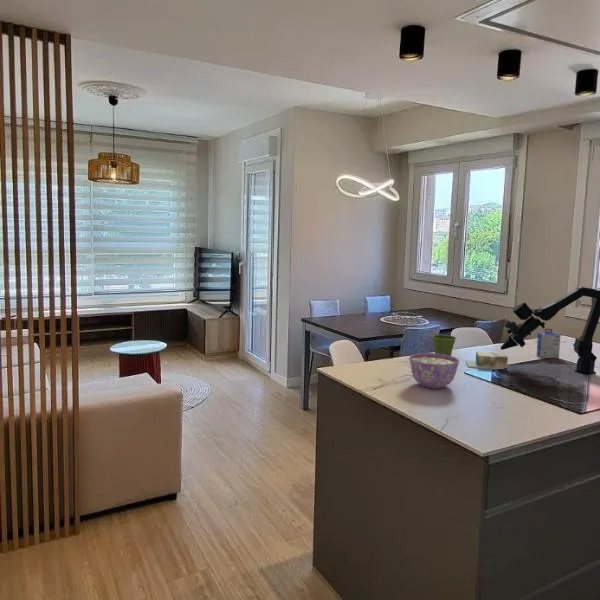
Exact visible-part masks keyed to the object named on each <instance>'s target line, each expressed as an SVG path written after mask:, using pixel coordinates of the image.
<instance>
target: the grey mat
mask: <svg viewBox="0 0 600 600" xmlns="http://www.w3.org/2000/svg"><path fill="white" fill-rule="evenodd" d="M465 363H466V366H467V368H470V367H471V368H472V369H484V368H491V369H490V370H498V369H504V370H505V368H500V367H485V366H478V365H477V363H476V360H471V359H470V360H469V359H466V360H465Z"/></svg>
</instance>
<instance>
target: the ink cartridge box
mask: <svg viewBox="0 0 600 600" xmlns="http://www.w3.org/2000/svg"><path fill="white" fill-rule="evenodd" d="M561 336H562V335H561V334H559V333H557V332H554V331H553V330H552V328H544V332H538V333H537V342H536V357H539V358H541V359H542V358H543V359H545V358H547V359H549V358H550V359H558V358H560V348H561Z"/></svg>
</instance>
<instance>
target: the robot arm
mask: <svg viewBox="0 0 600 600" xmlns="http://www.w3.org/2000/svg"><path fill="white" fill-rule="evenodd" d="M582 297H587V298H591V309H590V311H589V314H588V317H587V319H586V322H585V325H584V328H583V332H582V334H581V335H580V337H575V339H574V343H573V345H572V346H573V351H574V353H576V354H577V356H578V358H577V361H576V369H575V370H574V372H577V373H580V374H585V375H592V374H596V373H597V371H595V366H596V365H595V364H596V360H597V356H596V355H595V354H594V353H593V338H594V335H595V332H596V330H597V327H598V324H599V320H600V287H597V288H590V287H584V286H577V287H576V288H575V289H574V290H572V291H570V292H569V293H567V294H566V295H564V296H562V297H560V298H558V299H557V300H556V301H554V302H552V303H548V304H544V305H543V306H540V307H539V308H537V309H534V308H533V309H531V308H530V307H529V306H528V304H527V303H526V302H524V301H523V302H522V303H520V304H519V305H516V306H515V307H514V308H513V309H512V313H513V314H514V315H515V316H516V317H517V318H518V319H519V320H520V321H522V320H523V321H524V322H522V323H519V324H517V322H515V321H513V320H512V321H510V320H508V319H506V320H505V322H504V324H503V326H504V327H505V328H506V330H505V332H506V340H505V341H504V342H503V343H502V345H501V346H500V349H501V350H506V349H511V348H513V347H518V346H520V347H521V348H524V346H526V342H525V340H524V339H525V338H527V337H528V336H531V335H532V332H534V331H536V329H538V328H539V327H540V328H542V329H544V330H545V329H546V327H545V325H546V321H551V320H552V318H554V317H555V316H556V315H558V312H559V311H561V310H563V309H564V308H566V307H567V306H569V305H570V304H572V303H574V302H575V301H578V300H579V299H580V298H582ZM534 316H535V317H534Z"/></svg>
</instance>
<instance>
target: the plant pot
mask: <svg viewBox="0 0 600 600" xmlns="http://www.w3.org/2000/svg"><path fill="white" fill-rule="evenodd" d="M431 337H432V341H433V344H434V345H433V347H434V353H438V354H445V355H449V356H452V353H453V348H454V344H455V342H456V340H457V337H456V336H452V335H448V334H433V335H431Z"/></svg>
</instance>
